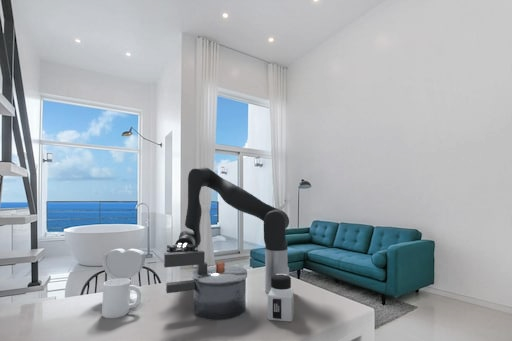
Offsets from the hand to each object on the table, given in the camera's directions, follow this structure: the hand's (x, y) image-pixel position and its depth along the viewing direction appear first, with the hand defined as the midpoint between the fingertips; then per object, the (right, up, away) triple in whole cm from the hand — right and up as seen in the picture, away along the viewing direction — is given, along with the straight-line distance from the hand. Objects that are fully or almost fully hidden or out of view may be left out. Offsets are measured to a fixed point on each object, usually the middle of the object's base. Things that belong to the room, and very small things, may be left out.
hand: (179, 252), depth 106 cm
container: (+37, -17, -13) cm, 43 cm away
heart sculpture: (-24, -19, +5) cm, 30 cm away
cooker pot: (+12, -17, -9) cm, 23 cm away
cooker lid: (+12, -6, -8) cm, 15 cm away
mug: (-16, -17, -11) cm, 26 cm away
